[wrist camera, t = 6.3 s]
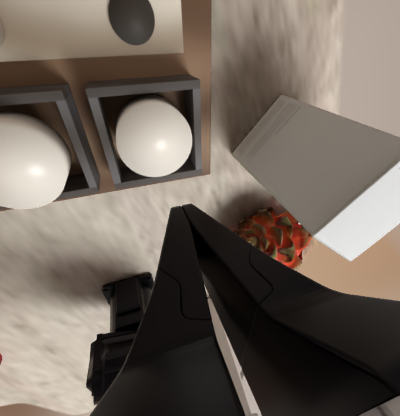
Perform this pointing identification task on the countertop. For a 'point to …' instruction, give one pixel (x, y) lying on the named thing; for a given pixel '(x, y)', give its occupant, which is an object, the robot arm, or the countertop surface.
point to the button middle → (31, 162)
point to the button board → (106, 77)
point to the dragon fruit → (276, 235)
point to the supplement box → (326, 173)
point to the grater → (234, 366)
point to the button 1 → (152, 136)
